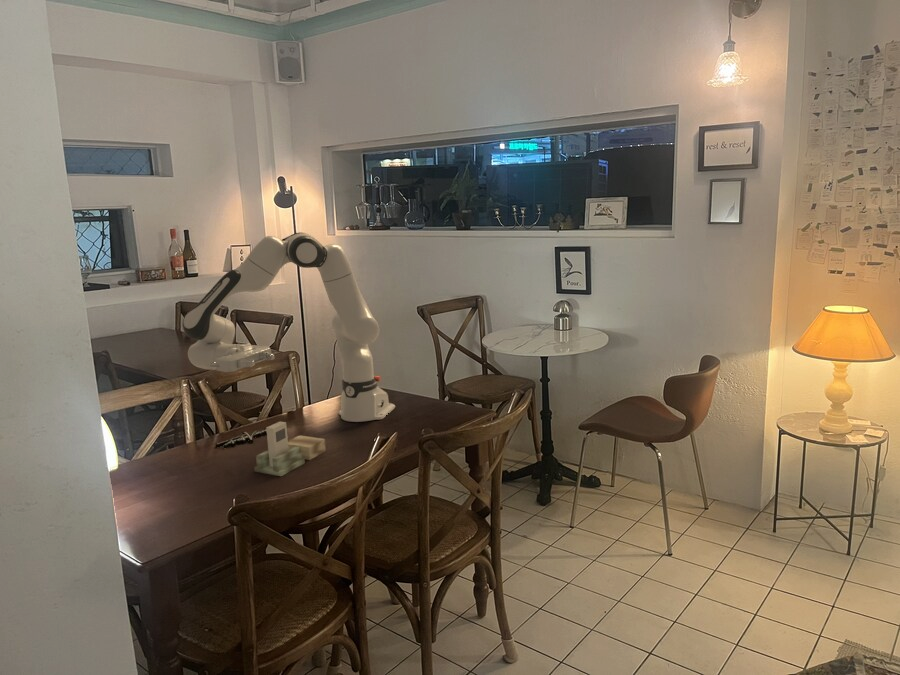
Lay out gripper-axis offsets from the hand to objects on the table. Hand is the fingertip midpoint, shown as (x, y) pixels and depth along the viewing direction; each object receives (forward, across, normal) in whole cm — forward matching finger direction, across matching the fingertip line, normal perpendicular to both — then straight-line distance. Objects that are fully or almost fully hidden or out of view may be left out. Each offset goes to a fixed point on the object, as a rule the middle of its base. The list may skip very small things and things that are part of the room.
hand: (263, 360), depth 216 cm
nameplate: (-12, +5, +29) cm, 32 cm away
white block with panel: (+15, -14, +27) cm, 34 cm away
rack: (+15, -14, +29) cm, 35 cm away
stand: (+15, -2, +29) cm, 32 cm away
